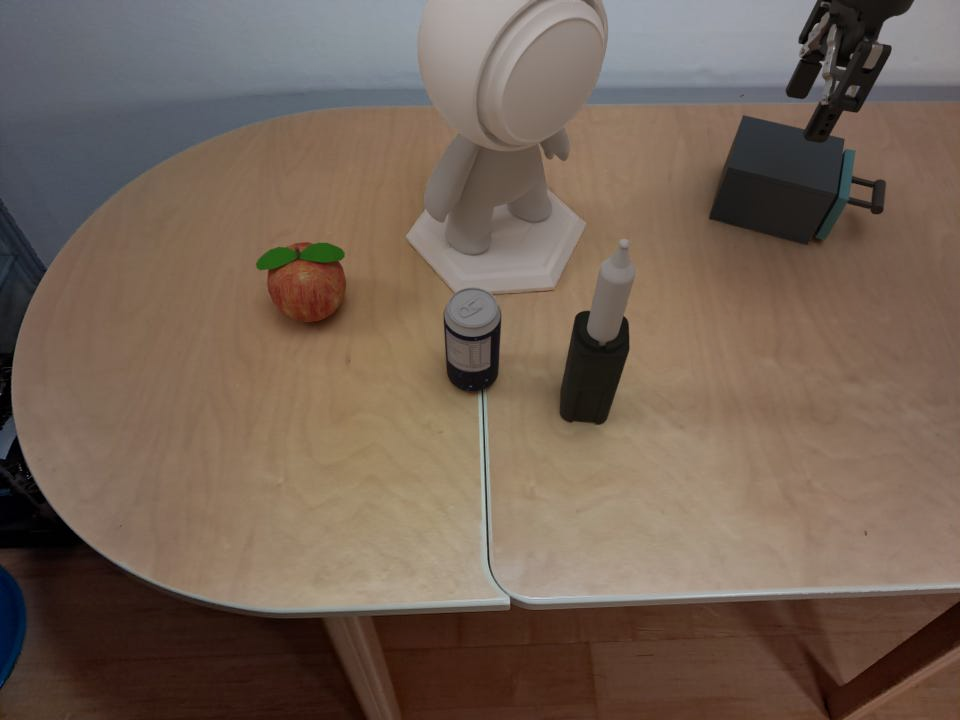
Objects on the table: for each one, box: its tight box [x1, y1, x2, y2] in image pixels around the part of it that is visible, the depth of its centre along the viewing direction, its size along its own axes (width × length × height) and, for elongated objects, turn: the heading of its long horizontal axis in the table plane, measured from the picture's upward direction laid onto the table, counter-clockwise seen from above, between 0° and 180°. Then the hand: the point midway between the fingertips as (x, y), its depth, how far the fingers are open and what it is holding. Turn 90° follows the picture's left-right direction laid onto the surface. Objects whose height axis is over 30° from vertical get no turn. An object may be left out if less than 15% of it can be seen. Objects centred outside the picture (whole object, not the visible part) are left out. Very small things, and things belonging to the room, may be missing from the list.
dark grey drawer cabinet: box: [708, 114, 846, 246], centre depth 89 cm, size 13×11×9 cm
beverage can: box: [442, 288, 502, 393], centre depth 72 cm, size 6×6×12 cm
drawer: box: [815, 148, 887, 241], centre depth 88 cm, size 16×9×7 cm, turn 69°
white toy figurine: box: [405, 0, 609, 296], centre depth 75 cm, size 20×23×35 cm
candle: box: [559, 238, 637, 426], centre depth 65 cm, size 5×5×25 cm
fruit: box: [255, 241, 347, 323], centre depth 78 cm, size 9×10×10 cm
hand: (803, 117), depth 71 cm, fingers open, 8 cm apart
